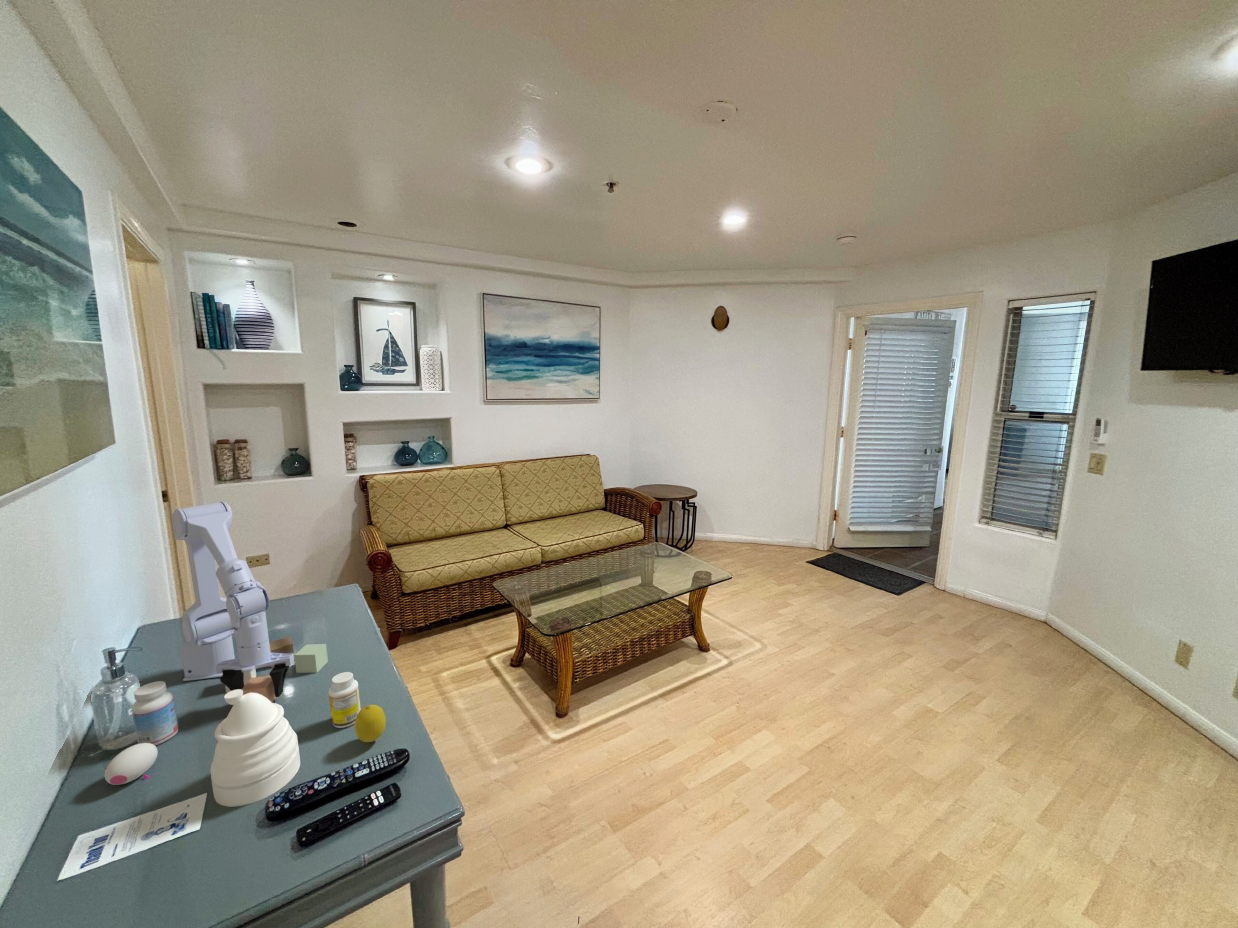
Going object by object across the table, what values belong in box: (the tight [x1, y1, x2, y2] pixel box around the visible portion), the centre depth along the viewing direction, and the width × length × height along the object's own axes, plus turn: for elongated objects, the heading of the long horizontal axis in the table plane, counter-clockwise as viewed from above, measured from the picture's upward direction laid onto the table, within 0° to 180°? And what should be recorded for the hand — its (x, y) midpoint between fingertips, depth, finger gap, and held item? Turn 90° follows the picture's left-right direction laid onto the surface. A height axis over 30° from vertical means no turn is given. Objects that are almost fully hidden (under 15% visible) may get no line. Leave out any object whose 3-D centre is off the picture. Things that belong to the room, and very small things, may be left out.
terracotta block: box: [241, 675, 277, 703], centre depth 110 cm, size 5×5×5 cm
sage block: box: [294, 643, 329, 674], centre depth 124 cm, size 5×5×5 cm
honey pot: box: [209, 689, 301, 808], centre depth 88 cm, size 13×13×18 cm
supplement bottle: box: [328, 671, 362, 729], centre depth 103 cm, size 6×6×10 cm
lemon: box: [354, 704, 387, 743], centre depth 97 cm, size 6×6×8 cm
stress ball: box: [104, 743, 159, 786], centre depth 89 cm, size 8×8×7 cm
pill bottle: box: [131, 680, 179, 746], centre depth 98 cm, size 6×6×11 cm
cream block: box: [224, 669, 257, 694], centre depth 117 cm, size 5×5×5 cm
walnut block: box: [269, 636, 295, 669], centre depth 126 cm, size 5×5×5 cm
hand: (260, 696), depth 110 cm, fingers open, 7 cm apart
